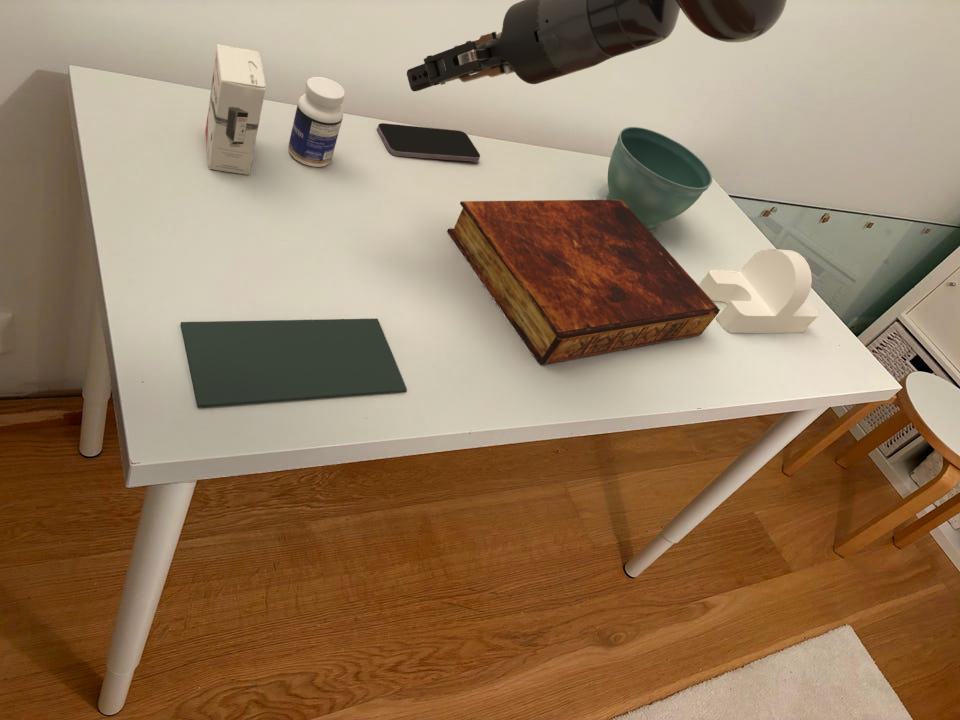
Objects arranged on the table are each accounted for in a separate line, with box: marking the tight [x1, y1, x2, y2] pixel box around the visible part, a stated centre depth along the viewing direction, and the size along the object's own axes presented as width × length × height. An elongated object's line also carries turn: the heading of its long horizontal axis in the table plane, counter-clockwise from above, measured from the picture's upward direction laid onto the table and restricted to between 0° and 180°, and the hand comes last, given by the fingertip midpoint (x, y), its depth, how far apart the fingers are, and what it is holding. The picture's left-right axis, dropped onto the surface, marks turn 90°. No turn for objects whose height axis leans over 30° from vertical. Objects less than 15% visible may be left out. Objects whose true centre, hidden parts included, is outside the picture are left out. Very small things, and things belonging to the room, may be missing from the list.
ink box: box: [205, 43, 267, 176], centre depth 85 cm, size 9×5×12 cm, turn 17°
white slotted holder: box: [698, 248, 820, 334], centre depth 108 cm, size 10×18×11 cm, turn 112°
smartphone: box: [376, 122, 481, 163], centre depth 108 cm, size 7×1×15 cm
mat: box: [180, 318, 408, 409], centre depth 70 cm, size 20×10×1 cm, turn 114°
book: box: [446, 199, 721, 366], centre depth 96 cm, size 30×24×5 cm
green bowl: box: [606, 126, 713, 230], centre depth 115 cm, size 16×16×11 cm
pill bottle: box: [287, 76, 346, 168], centre depth 92 cm, size 6×6×10 cm
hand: (436, 76), depth 78 cm, fingers open, 8 cm apart
